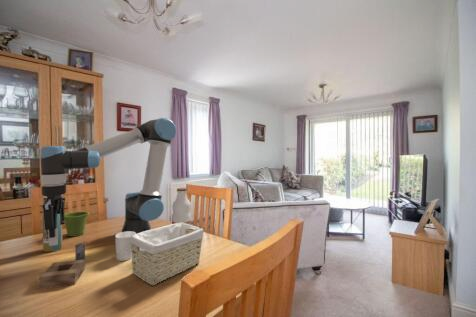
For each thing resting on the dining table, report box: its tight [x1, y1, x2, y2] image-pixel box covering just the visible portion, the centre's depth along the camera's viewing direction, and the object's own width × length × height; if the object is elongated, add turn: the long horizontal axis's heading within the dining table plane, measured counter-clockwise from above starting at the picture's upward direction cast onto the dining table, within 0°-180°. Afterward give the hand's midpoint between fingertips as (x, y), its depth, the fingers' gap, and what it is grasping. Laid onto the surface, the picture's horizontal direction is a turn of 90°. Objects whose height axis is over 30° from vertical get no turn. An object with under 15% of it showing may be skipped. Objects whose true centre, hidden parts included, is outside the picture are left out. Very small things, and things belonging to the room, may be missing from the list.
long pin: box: [51, 214, 62, 252], centre depth 89 cm, size 3×3×14 cm
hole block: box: [38, 258, 86, 290], centre depth 79 cm, size 10×10×4 cm
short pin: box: [74, 242, 86, 261], centre depth 91 cm, size 3×3×7 cm
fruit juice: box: [171, 187, 192, 234], centre depth 111 cm, size 9×9×28 cm
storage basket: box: [130, 222, 204, 286], centre depth 87 cm, size 24×16×15 cm
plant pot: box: [63, 211, 90, 238], centre depth 121 cm, size 12×12×11 cm
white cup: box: [114, 231, 136, 262], centre depth 96 cm, size 8×8×10 cm
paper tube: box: [42, 196, 63, 253], centre depth 102 cm, size 7×7×25 cm
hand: (55, 242), depth 89 cm, fingers closed on long pin, 3 cm apart
